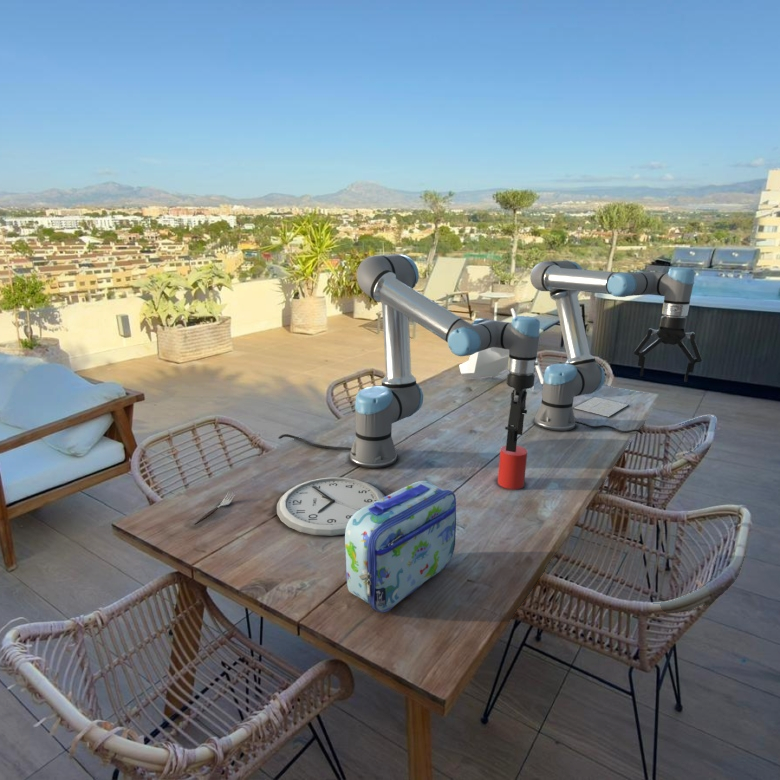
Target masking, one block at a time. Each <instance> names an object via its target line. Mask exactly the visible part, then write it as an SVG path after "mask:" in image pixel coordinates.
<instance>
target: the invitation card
mask: <svg viewBox="0 0 780 780" xmlns="http://www.w3.org/2000/svg"><path fill="white" fill-rule="evenodd" d="M628 406H629V404H627V403H623V402H618V401H614V400H609V399H605V398H601V397H596V396H593V397H592V398H590V399H588V400H586V401H584V402H582V403H580V404H578V405H575V406H574V407H573V409H575V410H581V411H584V412H587V413H593V414H596V415H600V416H604V417H608V418H609V417H611V416H613V415H614V414H616V413H617V412H619V411H621V410H623V409H624V408H626V407H628Z"/></svg>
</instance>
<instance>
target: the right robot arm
mask: <svg viewBox="0 0 780 780" xmlns="http://www.w3.org/2000/svg"><path fill="white" fill-rule="evenodd" d="M695 275H696V271H695V269H693V268H690V267H670V268H669V270H668V272H659V271H650V270H638V271H636V272H624V271H623V272H622V271H609V270H608V271H606V270H605V271H604V270H594V269H582V266H581V265H580V264H578V263H577V262H576V261H573V260H566V259H565V260H545V261H540V262H539V263H537V264H535V266H533V268H532V270H531V272H530V277H529V279H530V283H531V285H532V286H533V287H534V289H536V290H537V291H540V292H548V293H549V296H550V299H551V300H553V301H555V307H556V311H557V315H558V320H559V325H560V329H561V334H562V339H563V343H564V349H565V353H566V358H567V359H566V361H565V363H554V364H550V365H548V366H547V367H546V368H545V370H544V373H543V376H544V378H543V379H544V381H543V386H542V392H541V402H540V405H539V407H538V410H537V411H536V413H535V416H534V424H535V425H536V426H537V427H539V428H542V429H544V430H549V431H556V432H567V431H572V430H574V429H575V428H576V424H578V425H581V426H584V427H587V428H590V429H591V428H592V429H600V428H607V429H611V430H613V431H616V432H618V433H622V434H628V433H629V434H630V433H634V432H637V433H639V434H640V435H643V434H644V433H643V432H642V431H641V430H640V429H636V428H635V429H629V430H622V429H619V428H616V427H614V426H611V425H607V424H602V425H601V424H600V425H590V424H587V423H585V422H581V421H579V420H578V421H577V420H576V418H575V417H576V416H575V413H574V407H573V405H574V398H575V397H579V396H584V395H585V396H586V395H591V394H593V393H596V392H598V391H599V390H600V389H602V387H603V386H604V384H605V381H606V373H605V370H604V368H603V366H601V365H600V364H598V363H597V361H596V357H595V356H593V355H592V354H591V353H590V348H589V344H588V343H589V342H588V339H587V334H586V329H585V324H584V320H583V319H584V318H583V314H582V310H581V305H580V301H579V294H580V293H581V292H585V293H592V294H593V293H594V294H602V295H611V296H612V297H616V298H617V297H618V298H627V297H634V296H647V295H648V296H649V295H651V296H660V297H664V298H663V304H662V309H661V314H662V316H660V320H659V321H660V322H659V326H658V329H653V328H652V327H650V328H648V330H647V332H646V333H647V334H646V335H645V337H644V338H643V339H642V341H640V343H639V344H638V346H637V347H636V348H635V350H634V351H633V354H634V355H636V356H637V357H638V360H637V366H639V367H640V371H639V377H642V376H644V368H645V364H646V355H647V354H648V353H649V352H651V351H652V350H653V349H654V348H656V347H657V346H658V345H659V344H661V343H662V344H664V345H672V346H674V345H678V347H679V348H680V349H681V351H682V352H683V353H684V355H685V356H686V357H687V359H688V360H689V361H687V365H686V371H685V375H684V381H683V382H684V383H688V378H689V374H690V373H693V372H694V368H695V364H696V363H701V362H702V361H703V359H702V355H701V353H700V350H699V347H698V345H697V342H696V339H695V338H696V337H695V336H696V333H695V332H694V331H691V332H686V325H687V321H688V318H687V316H689V309H690V303H691V296H692V291H693V288H694V284H695ZM654 335H657V337H658V338H657V339H656V340H655V341H653V342H652V343H651V344H649V345H648V346H647V347H646V348H644V346H645V344H646V343H647V342H648V341H649V340H650V338H651V337H653V336H654ZM685 337H686V338H687V340H689V341H690V344H691V347H692V350H693V352H694V355H695V357H694V356H693V354H692V353H691V352H690V350H689V349H688V347H687V346H686V345H685V344H684V342H683V339H684V338H685ZM643 348H644V349H643ZM642 349H643V350H642ZM641 350H642V351H641Z"/></svg>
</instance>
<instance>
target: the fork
mask: <svg viewBox="0 0 780 780" xmlns="http://www.w3.org/2000/svg"><path fill="white" fill-rule="evenodd" d="M236 494H237V491H233V492H232V490H230V491H228V492H227V494H226V496H225V497H224V498H223V500H222V501H221V502H220V504H219V505H217V506H216V507H215V508H213V509H211V510H209V511H208V512H207V513H205V514H204V515H203V516H202V517H200V519H198V520H197V521H196V522H195V523H194V524H193V525H194V526H196V525H199V524H200V523H201V522H202V521H204V520H206V519H207V518H209V517H210V516H212V515H213V514H214V513H216V511H218V509H219V508H220V507H226V506H229V505H230V504H231V503H232V501H233V500H234V497H235V496H236Z"/></svg>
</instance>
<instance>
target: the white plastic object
mask: <svg viewBox="0 0 780 780" xmlns="http://www.w3.org/2000/svg"><path fill="white" fill-rule="evenodd" d="M510 312H511V316H512V319H513V318H514V317H517V316H518V314H517V312H516V311H515V309H514V307H512V308H510ZM508 360H509V349H503V348H496V347H491V348H488V349H485V350H482V351H479V352H476V353H475V354H472V355H469V358H468V360H467V361H465V362H463V363H460V364H459V365H458V367H459V371H460V374H461V376H462V377H463V379H464V380H469V379H479V378H487V377H491V378H492V379H493V378H496V377H498V376H501V375H502V374H501V373H502V372H503V371H505V370H506V369H508ZM535 362H538V366H536V368H535V371H536V373H537V375H538V379H539V382H540V384H541V386H542V387H543V381H544V379H543V378H544V373H543V371H542V368H541V367H542V366H541V364H540V362H539V359H538V357H537V358H536V361H535ZM530 389H531V391H532V392H533V393H535V385H534V386H533V387H532V388H530Z"/></svg>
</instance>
